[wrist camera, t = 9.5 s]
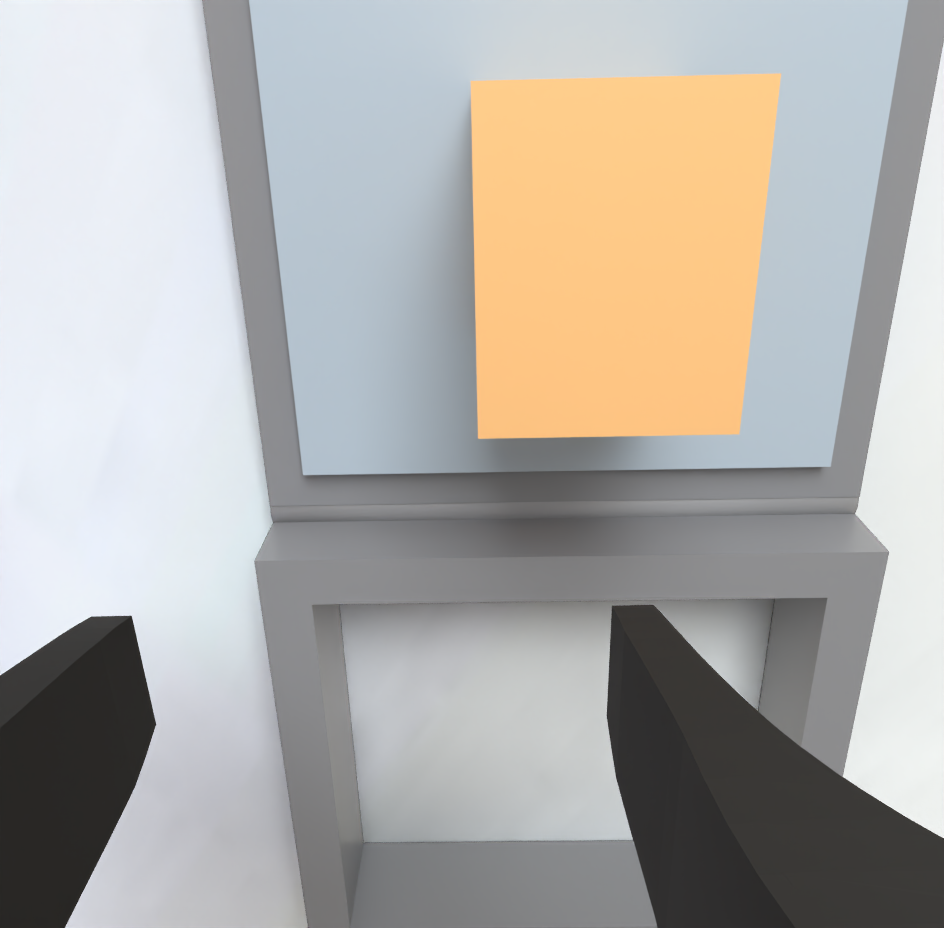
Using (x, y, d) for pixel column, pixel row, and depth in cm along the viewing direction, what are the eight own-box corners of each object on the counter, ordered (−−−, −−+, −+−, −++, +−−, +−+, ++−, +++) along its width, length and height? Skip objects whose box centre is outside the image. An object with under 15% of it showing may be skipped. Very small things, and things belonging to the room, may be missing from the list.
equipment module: (478, 336, 18) (477, 438, 13) (474, 86, 16) (470, 81, 11) (660, 333, 18) (739, 434, 13) (678, 81, 16) (781, 73, 11)
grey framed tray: (329, 869, 27) (312, 956, 24) (197, -177, 16) (138, -234, 13) (772, 866, 27) (805, 953, 24) (956, -199, 16) (1057, -262, 13)
